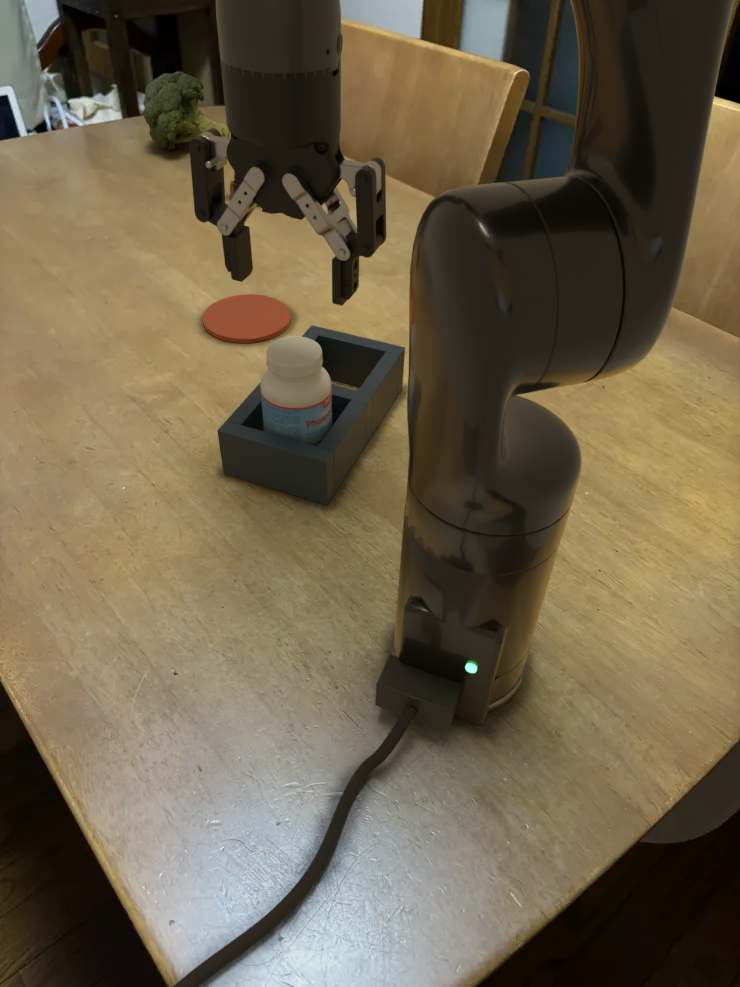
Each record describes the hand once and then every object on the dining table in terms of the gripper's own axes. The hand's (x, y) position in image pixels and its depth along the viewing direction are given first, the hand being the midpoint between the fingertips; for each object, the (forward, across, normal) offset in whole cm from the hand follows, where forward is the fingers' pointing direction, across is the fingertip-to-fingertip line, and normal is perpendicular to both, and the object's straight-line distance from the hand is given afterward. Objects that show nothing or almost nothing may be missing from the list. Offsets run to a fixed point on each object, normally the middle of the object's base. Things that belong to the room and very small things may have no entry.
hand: (291, 288), depth 58 cm
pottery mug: (+17, -31, +52) cm, 63 cm away
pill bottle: (+17, 0, 0) cm, 17 cm away
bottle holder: (+17, 0, +4) cm, 17 cm away
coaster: (+17, -16, +19) cm, 30 cm away
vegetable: (+18, -52, +65) cm, 85 cm away
